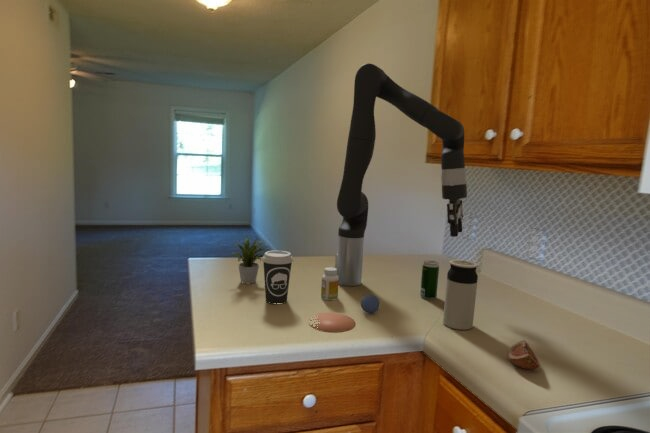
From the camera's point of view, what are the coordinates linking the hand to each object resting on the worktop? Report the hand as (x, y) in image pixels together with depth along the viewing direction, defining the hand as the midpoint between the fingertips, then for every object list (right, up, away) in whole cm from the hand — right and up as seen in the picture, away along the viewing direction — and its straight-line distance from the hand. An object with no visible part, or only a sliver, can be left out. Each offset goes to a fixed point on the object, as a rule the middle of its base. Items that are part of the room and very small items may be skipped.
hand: (456, 234), depth 134 cm
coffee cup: (-57, -21, -3) cm, 61 cm away
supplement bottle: (-41, -21, +1) cm, 45 cm away
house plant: (-69, -18, +12) cm, 72 cm away
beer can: (-7, -22, +7) cm, 24 cm away
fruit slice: (+3, -29, -38) cm, 48 cm away
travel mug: (-5, -25, -16) cm, 30 cm away
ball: (-29, -20, -10) cm, 36 cm away
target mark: (-40, -23, -18) cm, 50 cm away
